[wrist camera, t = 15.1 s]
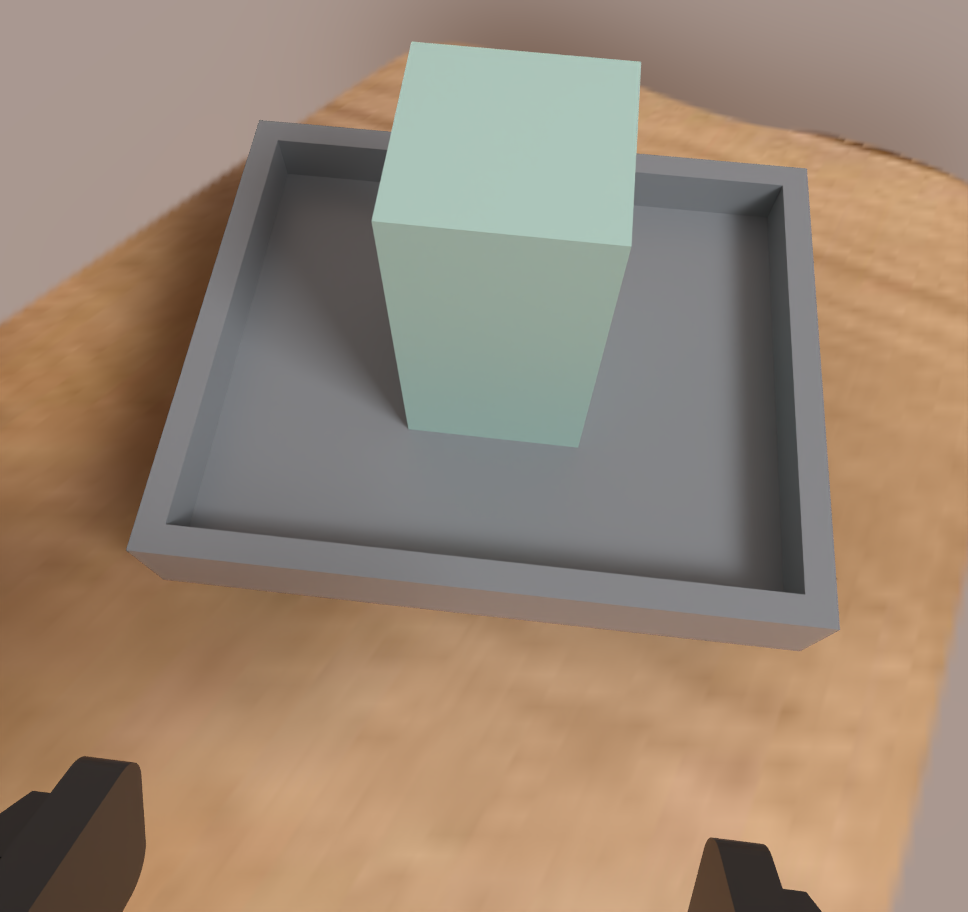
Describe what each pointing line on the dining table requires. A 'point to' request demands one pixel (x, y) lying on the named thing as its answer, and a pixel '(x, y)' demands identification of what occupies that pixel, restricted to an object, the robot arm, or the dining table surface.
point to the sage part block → (505, 235)
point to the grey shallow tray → (506, 463)
